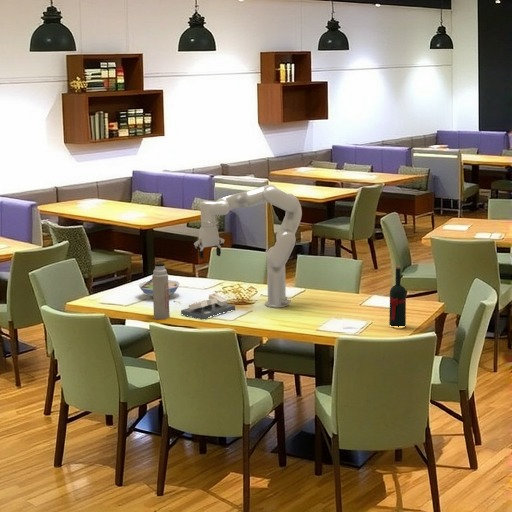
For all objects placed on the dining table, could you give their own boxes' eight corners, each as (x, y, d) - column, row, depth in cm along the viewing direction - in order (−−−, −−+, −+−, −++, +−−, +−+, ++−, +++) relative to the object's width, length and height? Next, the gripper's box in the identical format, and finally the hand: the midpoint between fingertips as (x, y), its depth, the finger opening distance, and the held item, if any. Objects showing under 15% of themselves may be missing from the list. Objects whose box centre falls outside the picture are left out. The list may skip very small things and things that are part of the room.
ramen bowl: (171, 303, 514) (171, 288, 513) (132, 301, 520) (131, 286, 518) (186, 292, 538) (186, 278, 536) (148, 290, 544) (148, 276, 542)
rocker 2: (217, 302, 491) (216, 297, 491) (211, 304, 488) (210, 299, 488) (205, 305, 497) (204, 300, 497) (199, 306, 494) (198, 302, 494)
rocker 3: (226, 304, 498) (227, 300, 497) (220, 306, 495) (221, 301, 494) (214, 297, 503) (215, 292, 502) (208, 298, 500) (209, 294, 499)
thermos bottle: (172, 316, 488) (170, 262, 482) (163, 320, 481) (161, 265, 475) (160, 314, 492) (158, 261, 486) (150, 318, 485) (148, 264, 479)
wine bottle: (384, 328, 458) (385, 267, 452) (393, 323, 466) (393, 263, 460) (399, 330, 454) (400, 269, 448) (408, 325, 462) (409, 265, 456)
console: (235, 310, 498) (235, 303, 497) (203, 319, 480) (203, 312, 479) (212, 305, 508) (212, 298, 507) (181, 315, 490) (180, 307, 489)
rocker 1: (207, 305, 486) (206, 300, 486) (201, 307, 482) (200, 302, 482) (195, 308, 492) (194, 303, 492) (189, 309, 488) (188, 304, 488)
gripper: (220, 221, 502) (221, 253, 506) (190, 225, 494) (192, 258, 498) (226, 223, 496) (228, 255, 499) (196, 227, 488) (198, 260, 491)
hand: (210, 256), depth 498 cm, fingers open, 9 cm apart
